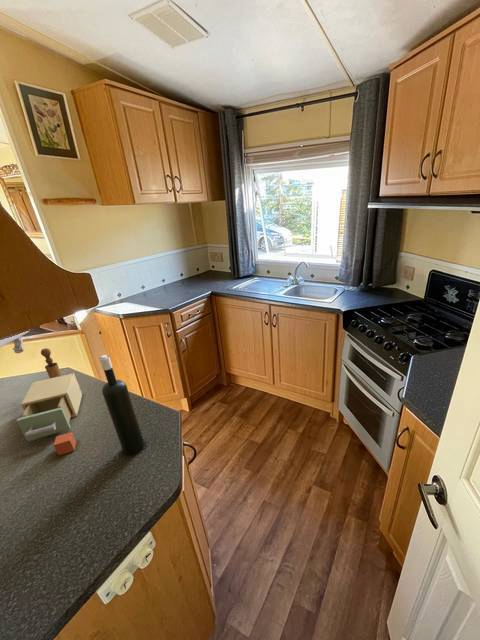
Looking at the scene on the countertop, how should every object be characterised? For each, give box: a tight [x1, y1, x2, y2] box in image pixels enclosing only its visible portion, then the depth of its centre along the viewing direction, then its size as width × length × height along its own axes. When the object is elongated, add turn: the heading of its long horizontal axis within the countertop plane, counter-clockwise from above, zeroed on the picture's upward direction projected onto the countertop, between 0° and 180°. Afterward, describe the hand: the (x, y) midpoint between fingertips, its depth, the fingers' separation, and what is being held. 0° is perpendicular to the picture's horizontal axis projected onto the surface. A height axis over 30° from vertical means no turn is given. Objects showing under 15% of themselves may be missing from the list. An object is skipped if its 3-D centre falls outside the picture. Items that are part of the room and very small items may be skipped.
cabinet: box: [20, 372, 83, 419], centre depth 101 cm, size 15×13×10 cm
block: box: [53, 431, 77, 456], centre depth 85 cm, size 4×4×4 cm
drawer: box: [16, 396, 72, 442], centre depth 92 cm, size 18×11×8 cm, turn 25°
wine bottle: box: [98, 354, 145, 456], centre depth 78 cm, size 6×6×30 cm
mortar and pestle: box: [40, 347, 63, 379], centre depth 112 cm, size 7×6×18 cm
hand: (8, 359), depth 84 cm, fingers open, 8 cm apart
